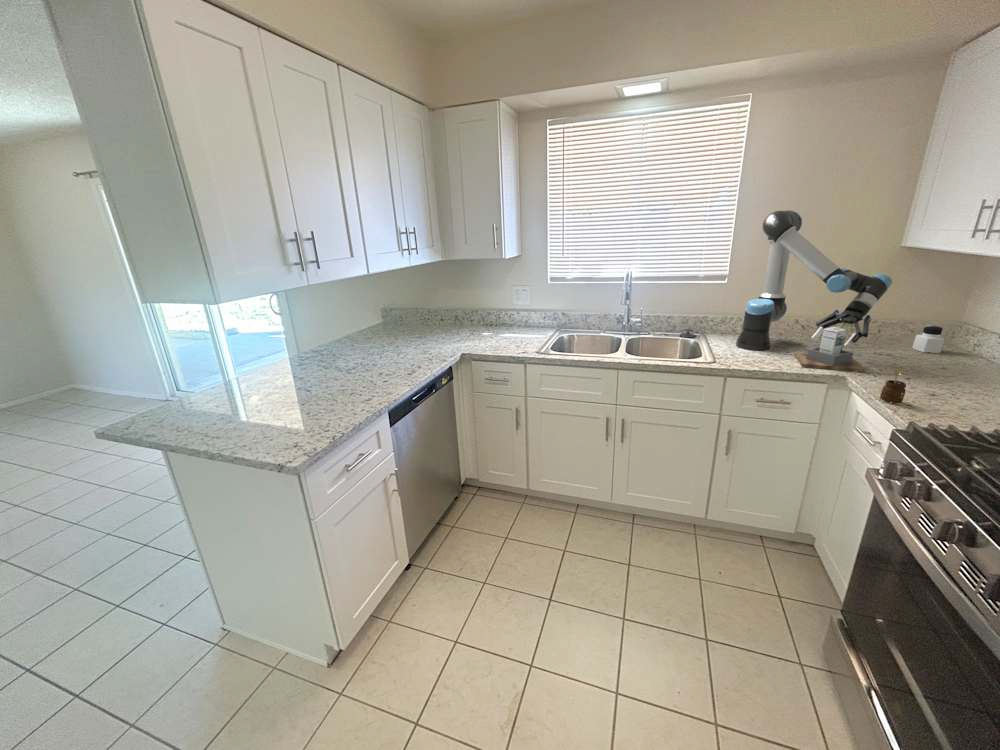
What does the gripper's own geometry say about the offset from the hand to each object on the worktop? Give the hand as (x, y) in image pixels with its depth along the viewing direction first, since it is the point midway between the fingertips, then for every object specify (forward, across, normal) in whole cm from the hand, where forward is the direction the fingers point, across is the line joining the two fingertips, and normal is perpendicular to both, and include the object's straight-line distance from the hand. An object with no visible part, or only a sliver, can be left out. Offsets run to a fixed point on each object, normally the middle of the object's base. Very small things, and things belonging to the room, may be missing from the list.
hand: (828, 343), depth 181 cm
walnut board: (+5, 0, -8) cm, 10 cm away
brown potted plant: (+21, -36, +6) cm, 42 cm away
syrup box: (+4, 0, -8) cm, 9 cm away
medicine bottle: (-36, -7, -50) cm, 61 cm away
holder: (+4, 0, -7) cm, 9 cm away
